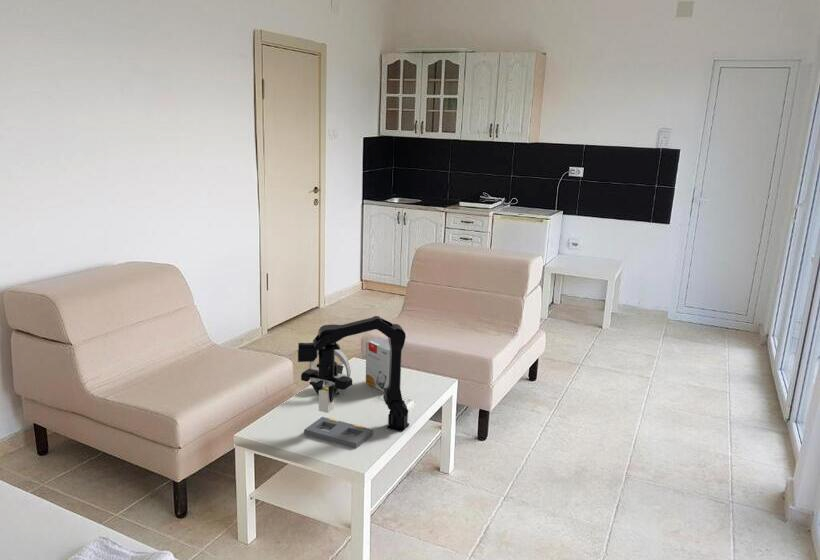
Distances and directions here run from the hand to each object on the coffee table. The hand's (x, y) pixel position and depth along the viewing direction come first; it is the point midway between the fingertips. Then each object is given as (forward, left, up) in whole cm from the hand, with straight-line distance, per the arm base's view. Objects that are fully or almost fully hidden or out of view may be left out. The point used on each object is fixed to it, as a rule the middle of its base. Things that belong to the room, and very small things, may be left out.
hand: (326, 400), depth 235 cm
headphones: (+18, -31, -13) cm, 38 cm away
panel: (-5, 0, -12) cm, 13 cm away
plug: (0, 0, -4) cm, 4 cm away
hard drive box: (+1, -47, -13) cm, 49 cm away
